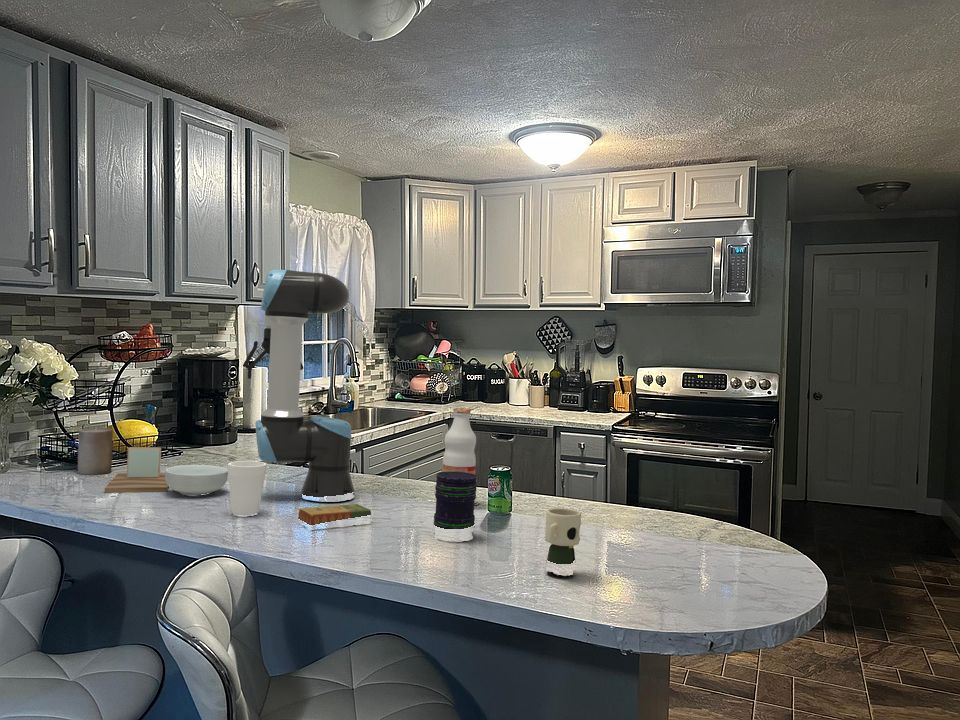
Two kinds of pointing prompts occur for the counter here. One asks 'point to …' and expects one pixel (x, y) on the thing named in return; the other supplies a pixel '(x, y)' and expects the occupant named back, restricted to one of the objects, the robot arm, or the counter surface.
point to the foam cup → (246, 486)
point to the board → (137, 484)
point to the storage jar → (455, 500)
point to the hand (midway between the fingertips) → (272, 389)
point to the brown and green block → (332, 513)
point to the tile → (143, 462)
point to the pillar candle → (95, 451)
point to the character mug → (562, 534)
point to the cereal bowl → (196, 478)
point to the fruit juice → (460, 444)
